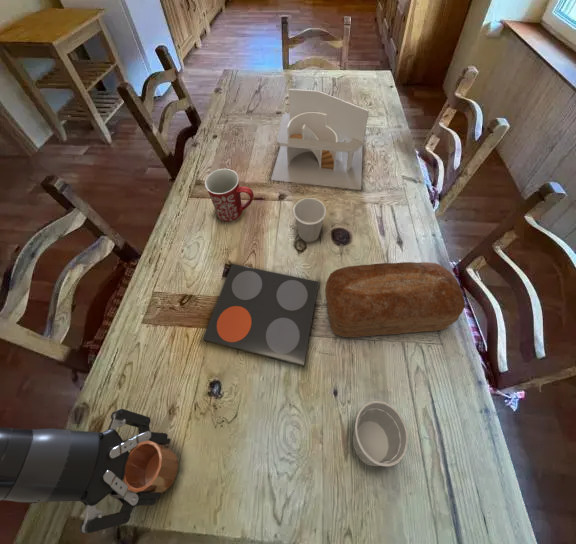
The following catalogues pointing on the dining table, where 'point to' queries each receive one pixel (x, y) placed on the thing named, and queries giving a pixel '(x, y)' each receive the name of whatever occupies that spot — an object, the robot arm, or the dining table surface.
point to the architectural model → (321, 141)
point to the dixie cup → (309, 218)
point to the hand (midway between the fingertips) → (163, 467)
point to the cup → (380, 435)
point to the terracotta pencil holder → (150, 468)
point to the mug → (227, 194)
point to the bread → (392, 299)
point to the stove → (264, 314)
